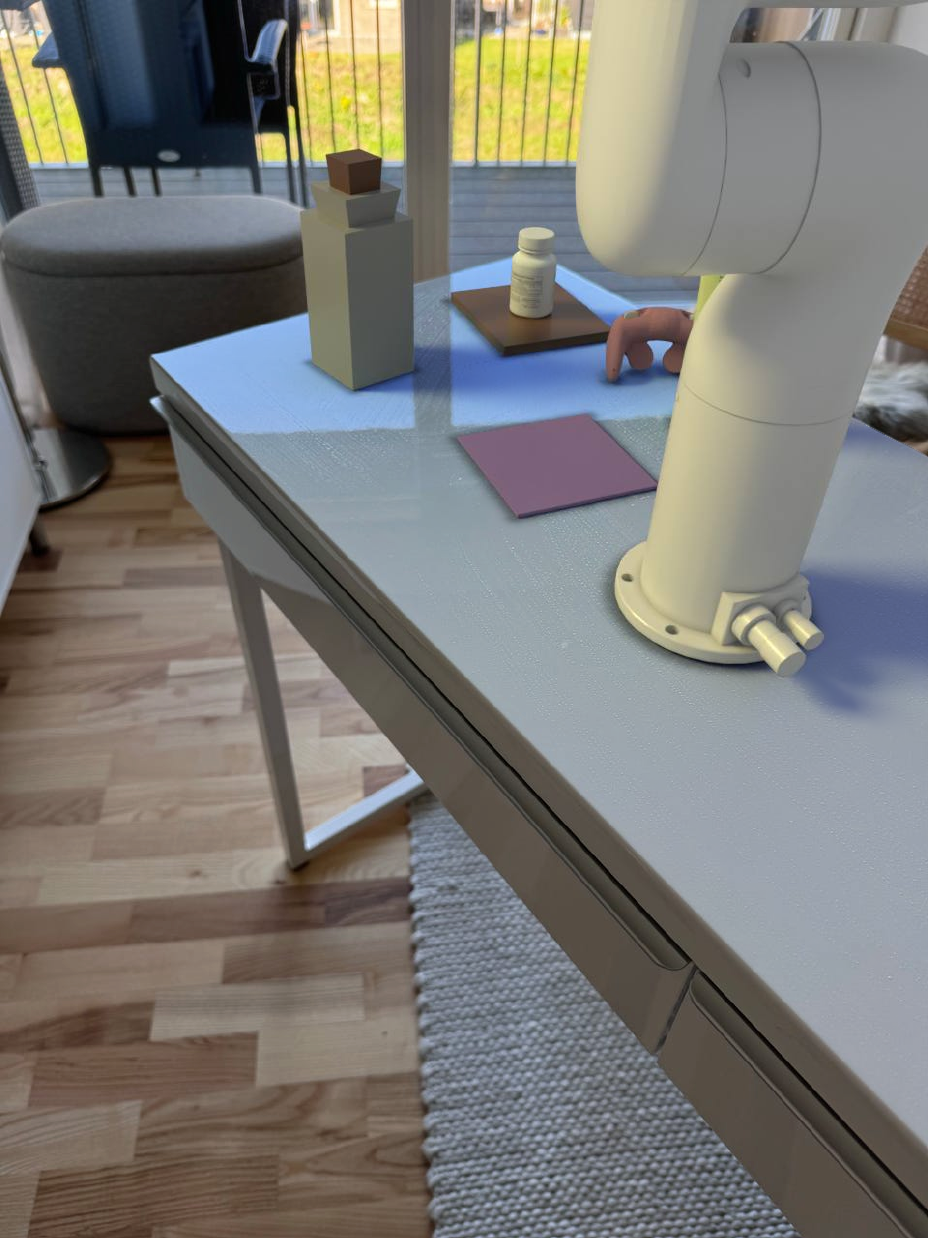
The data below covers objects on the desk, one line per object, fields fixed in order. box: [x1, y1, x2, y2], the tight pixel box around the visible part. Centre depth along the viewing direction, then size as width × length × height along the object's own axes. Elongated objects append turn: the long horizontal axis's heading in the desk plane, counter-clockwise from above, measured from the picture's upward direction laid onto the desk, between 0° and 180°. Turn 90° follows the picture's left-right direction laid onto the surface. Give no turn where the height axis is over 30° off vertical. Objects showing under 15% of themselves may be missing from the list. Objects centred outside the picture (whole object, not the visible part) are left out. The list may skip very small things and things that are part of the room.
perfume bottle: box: [299, 148, 415, 392], centre depth 79 cm, size 7×7×18 cm
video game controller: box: [605, 306, 695, 383], centre depth 84 cm, size 10×5×7 cm, turn 84°
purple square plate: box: [456, 413, 658, 519], centre depth 73 cm, size 12×12×1 cm
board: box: [450, 281, 612, 357], centre depth 94 cm, size 14×12×1 cm
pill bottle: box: [510, 226, 558, 318], centre depth 91 cm, size 4×4×8 cm
